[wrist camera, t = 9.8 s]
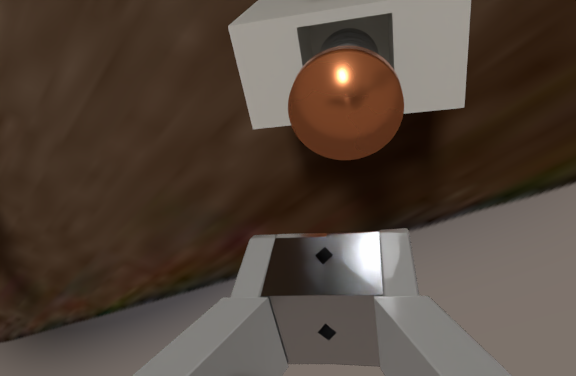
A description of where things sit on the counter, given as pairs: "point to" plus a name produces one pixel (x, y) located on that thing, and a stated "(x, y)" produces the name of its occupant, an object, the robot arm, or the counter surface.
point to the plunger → (346, 98)
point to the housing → (363, 16)
